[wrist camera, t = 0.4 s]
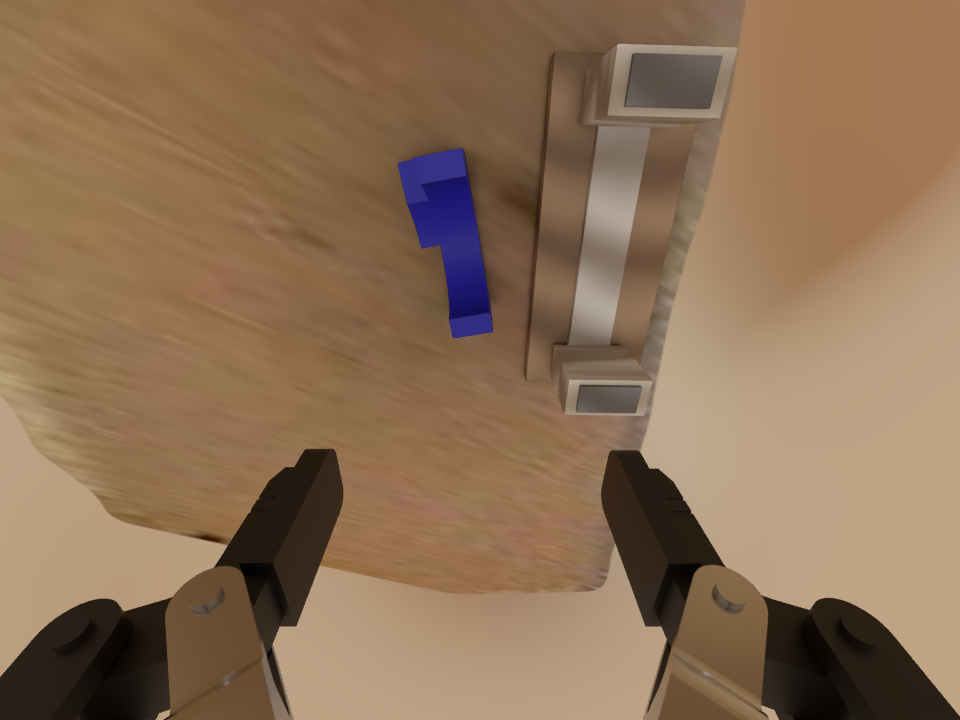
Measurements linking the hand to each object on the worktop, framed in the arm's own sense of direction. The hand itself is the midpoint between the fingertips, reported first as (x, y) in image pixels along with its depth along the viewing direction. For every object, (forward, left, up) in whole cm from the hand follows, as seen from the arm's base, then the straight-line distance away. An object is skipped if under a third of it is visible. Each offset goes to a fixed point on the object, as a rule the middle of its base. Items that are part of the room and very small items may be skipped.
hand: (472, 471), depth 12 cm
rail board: (-3, +10, -23) cm, 25 cm away
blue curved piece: (-3, -2, -24) cm, 24 cm away
